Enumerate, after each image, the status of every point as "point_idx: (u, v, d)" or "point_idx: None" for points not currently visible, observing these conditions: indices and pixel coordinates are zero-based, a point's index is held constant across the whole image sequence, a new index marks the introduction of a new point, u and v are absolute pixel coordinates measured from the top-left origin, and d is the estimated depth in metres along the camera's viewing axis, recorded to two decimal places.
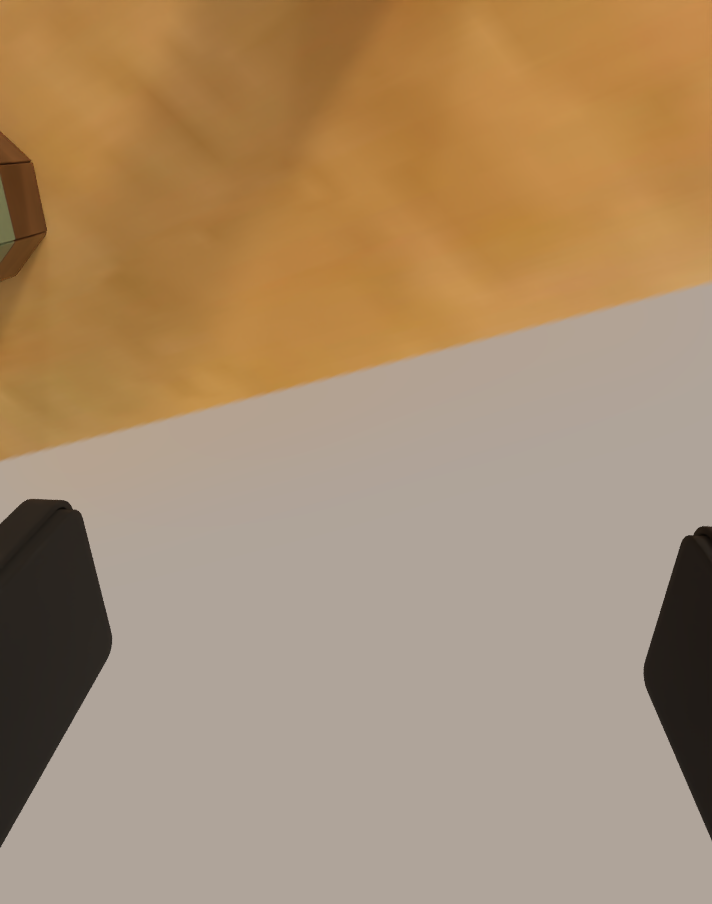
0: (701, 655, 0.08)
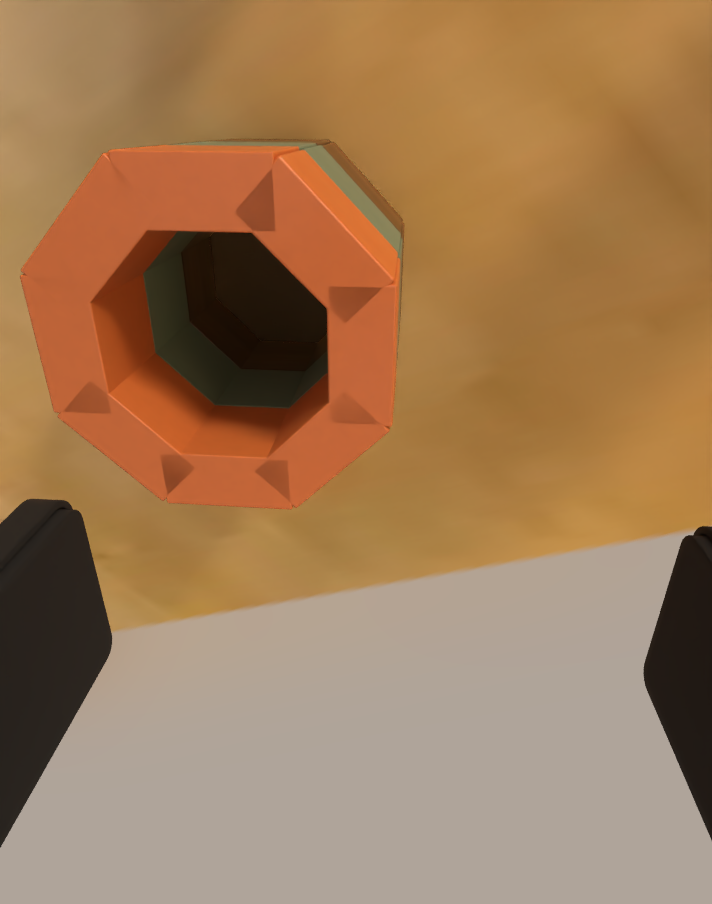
0: (701, 655, 0.08)
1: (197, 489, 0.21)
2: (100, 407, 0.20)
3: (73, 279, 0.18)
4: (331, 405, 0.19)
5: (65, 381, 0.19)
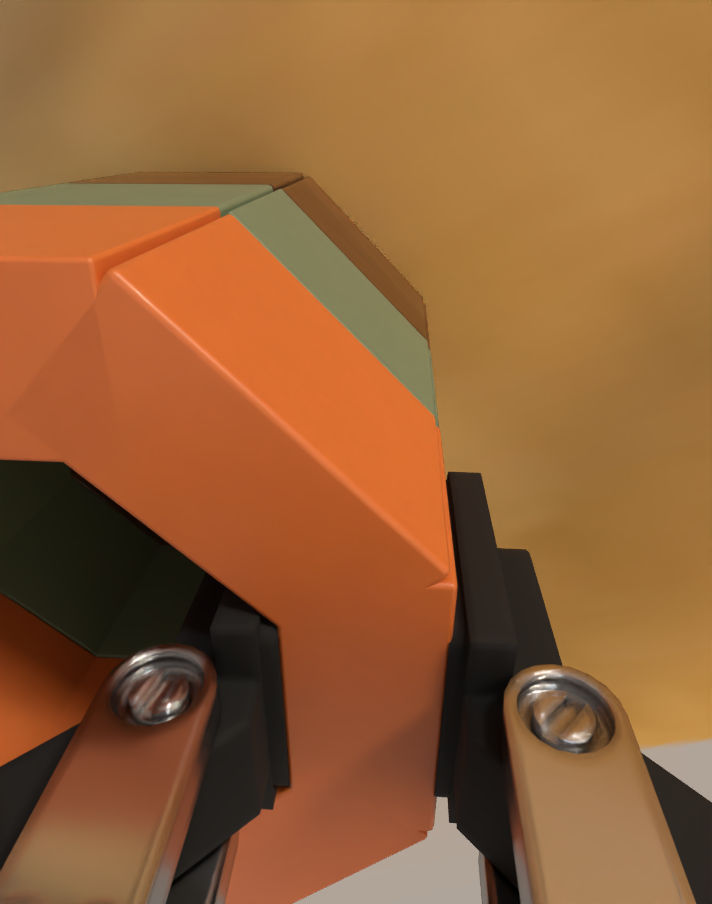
0: None
1: None
2: None
3: None
4: (296, 795, 0.08)
5: None
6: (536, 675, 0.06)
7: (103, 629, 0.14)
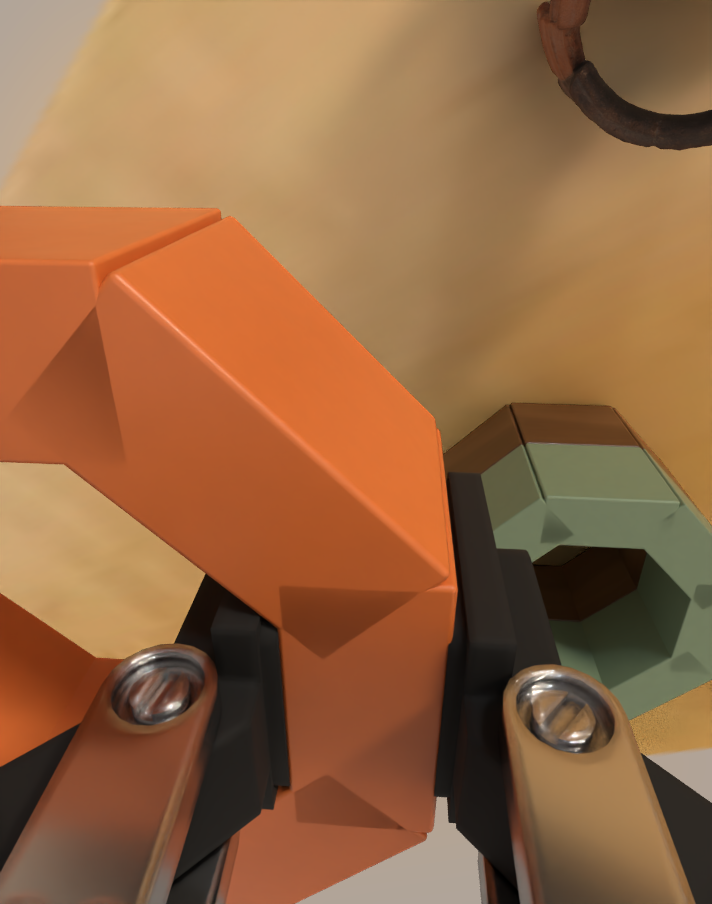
0: None
1: None
2: None
3: None
4: (296, 797, 0.08)
5: None
6: (536, 675, 0.06)
7: None
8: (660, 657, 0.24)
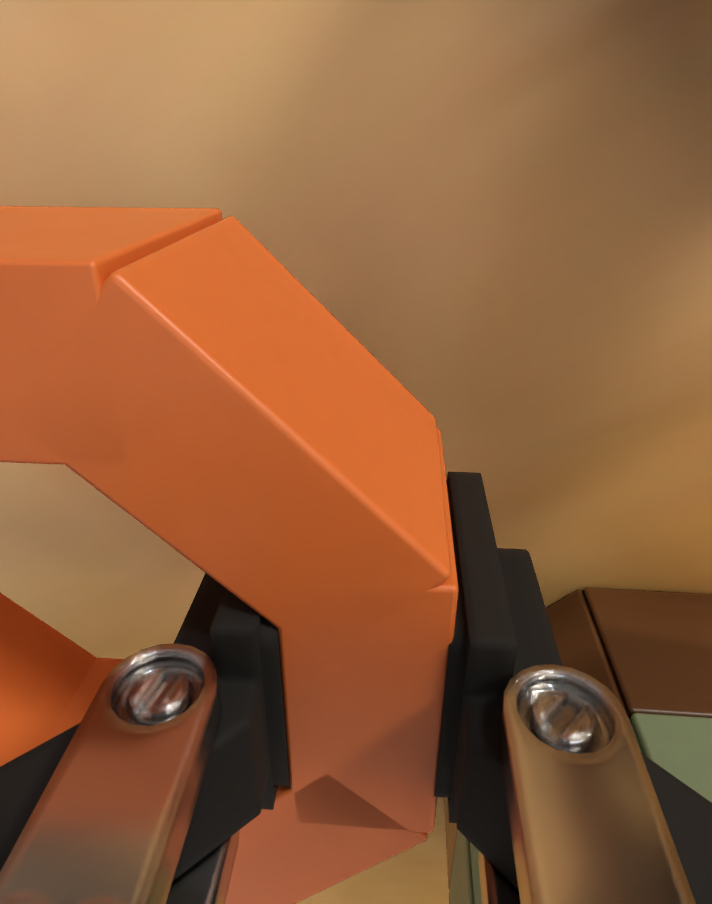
0: None
1: None
2: None
3: None
4: (296, 797, 0.08)
5: None
6: (536, 675, 0.06)
7: None
8: None
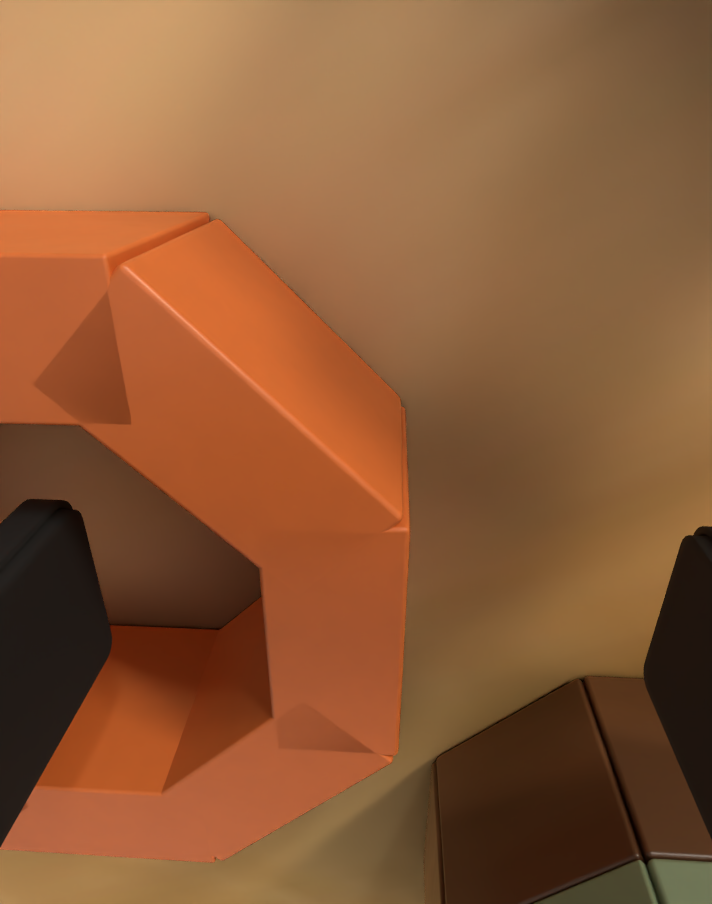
0: (701, 655, 0.08)
1: (39, 833, 0.11)
2: None
3: None
4: (278, 724, 0.09)
5: None
6: None
7: None
8: None
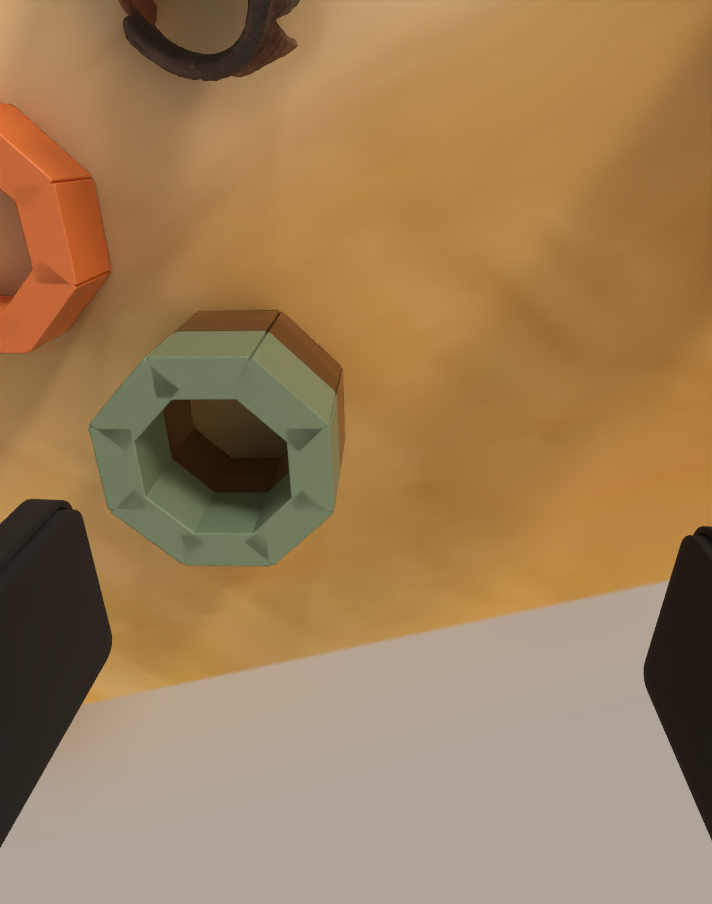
0: (701, 655, 0.08)
1: None
2: None
3: None
4: (34, 271, 0.28)
5: None
6: None
7: (195, 524, 0.30)
8: (287, 499, 0.29)
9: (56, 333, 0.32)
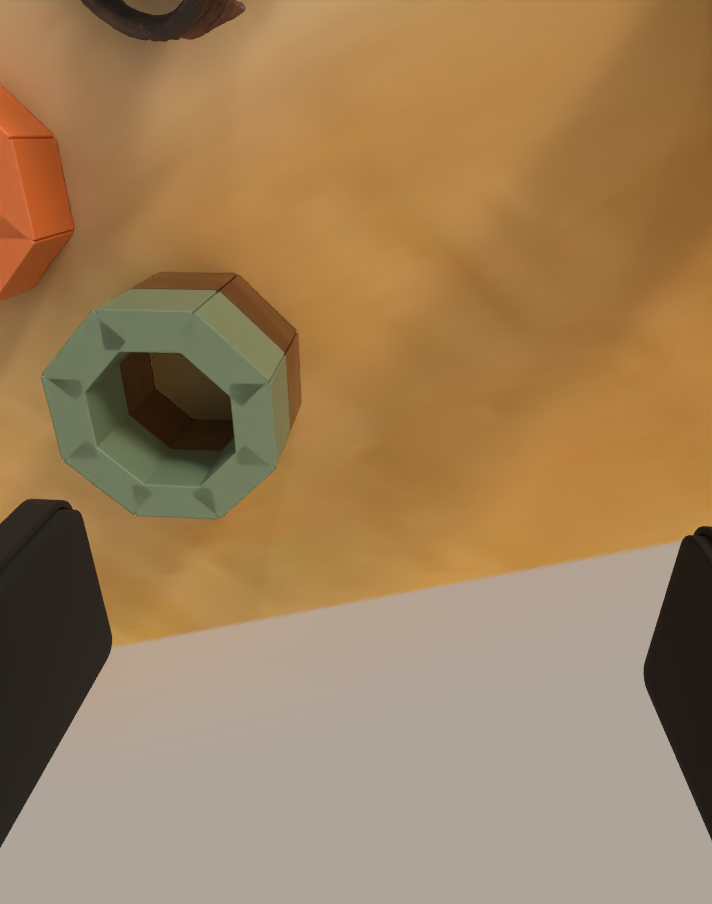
0: (701, 655, 0.08)
1: None
2: None
3: None
4: None
5: None
6: None
7: (146, 476, 0.32)
8: (232, 453, 0.30)
9: (19, 289, 0.33)
